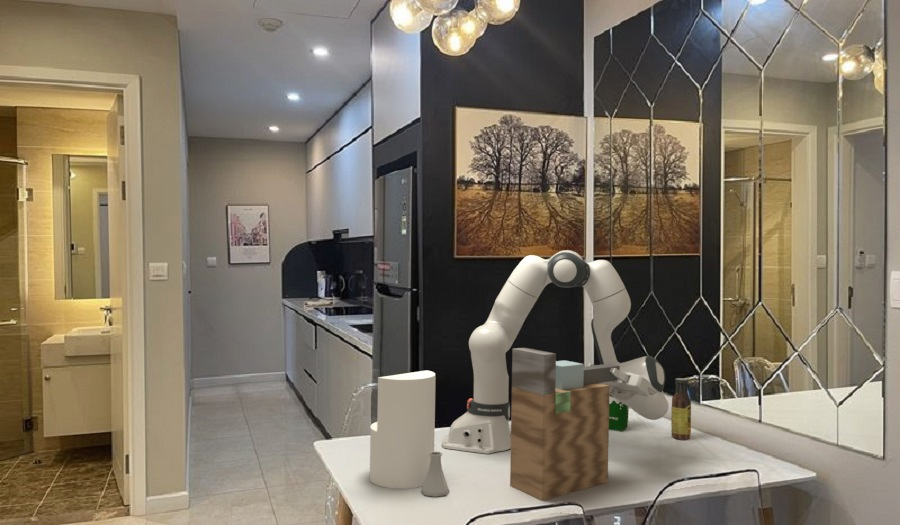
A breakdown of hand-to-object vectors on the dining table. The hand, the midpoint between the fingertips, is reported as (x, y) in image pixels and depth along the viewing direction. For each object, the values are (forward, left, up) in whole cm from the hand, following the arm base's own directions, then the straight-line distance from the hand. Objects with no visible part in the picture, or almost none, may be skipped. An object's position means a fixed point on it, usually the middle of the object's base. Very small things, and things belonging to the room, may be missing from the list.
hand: (601, 368), depth 180 cm
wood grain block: (-11, -11, -29) cm, 33 cm away
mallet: (-5, -5, -3) cm, 7 cm away
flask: (-42, -24, -30) cm, 57 cm away
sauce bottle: (+29, +44, -30) cm, 61 cm away
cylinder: (-53, -15, -30) cm, 62 cm away
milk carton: (+8, +52, -30) cm, 61 cm away
